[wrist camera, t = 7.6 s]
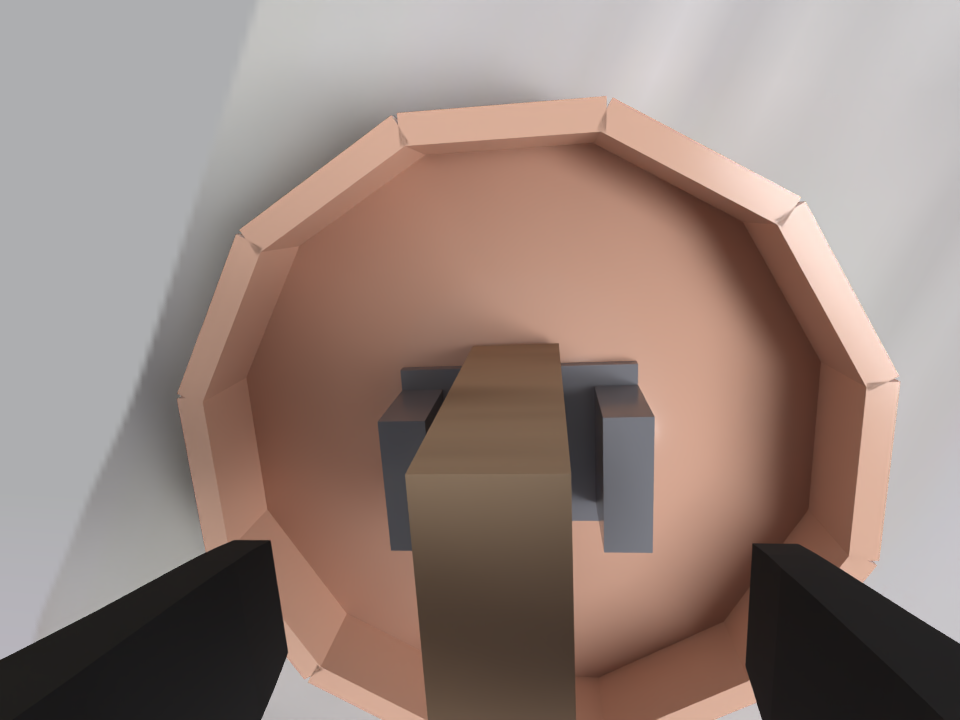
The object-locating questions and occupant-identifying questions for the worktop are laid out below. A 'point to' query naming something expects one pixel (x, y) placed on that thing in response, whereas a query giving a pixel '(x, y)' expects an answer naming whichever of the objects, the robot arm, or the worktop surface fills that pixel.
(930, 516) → the worktop surface
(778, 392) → the candle dish
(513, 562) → the tan rectangular block
